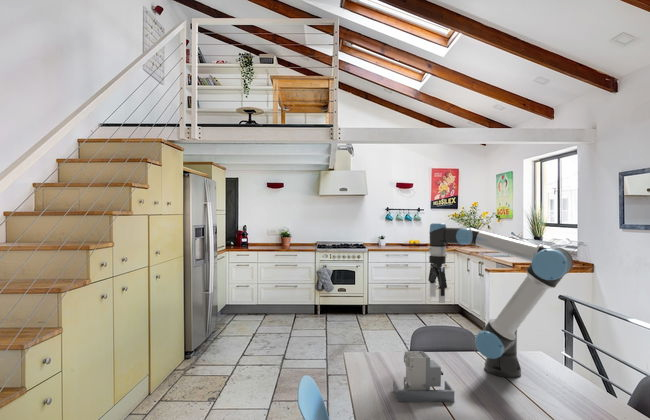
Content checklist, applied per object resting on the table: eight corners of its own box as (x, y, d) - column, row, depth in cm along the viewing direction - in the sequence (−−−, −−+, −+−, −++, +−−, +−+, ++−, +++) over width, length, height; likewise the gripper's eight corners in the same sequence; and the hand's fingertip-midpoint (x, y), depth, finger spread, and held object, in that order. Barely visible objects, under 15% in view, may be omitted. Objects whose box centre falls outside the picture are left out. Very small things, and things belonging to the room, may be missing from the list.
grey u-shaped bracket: (446, 390, 151) (446, 380, 151) (454, 402, 142) (454, 391, 142) (392, 390, 151) (392, 380, 151) (397, 401, 142) (397, 391, 142)
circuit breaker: (444, 395, 147) (445, 357, 147) (409, 397, 146) (409, 358, 146) (437, 387, 154) (437, 350, 155) (403, 388, 153) (403, 351, 153)
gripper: (422, 252, 193) (422, 294, 192) (438, 258, 168) (437, 305, 167) (436, 252, 193) (436, 294, 193) (454, 258, 168) (454, 305, 168)
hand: (437, 299), depth 180 cm, fingers open, 13 cm apart
